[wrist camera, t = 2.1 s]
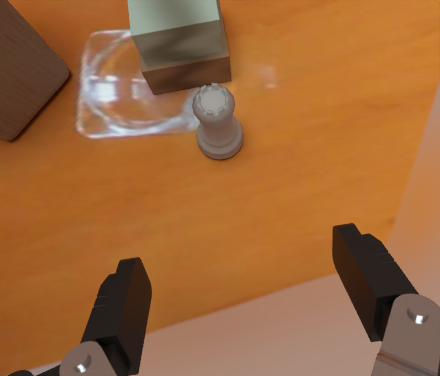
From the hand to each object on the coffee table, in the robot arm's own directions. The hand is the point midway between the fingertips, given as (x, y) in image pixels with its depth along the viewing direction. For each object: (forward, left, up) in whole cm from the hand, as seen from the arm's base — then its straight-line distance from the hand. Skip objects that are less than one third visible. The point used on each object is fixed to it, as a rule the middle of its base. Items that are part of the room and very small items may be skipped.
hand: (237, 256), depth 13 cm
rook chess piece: (0, +12, -16) cm, 20 cm away
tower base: (-2, +22, -16) cm, 27 cm away
